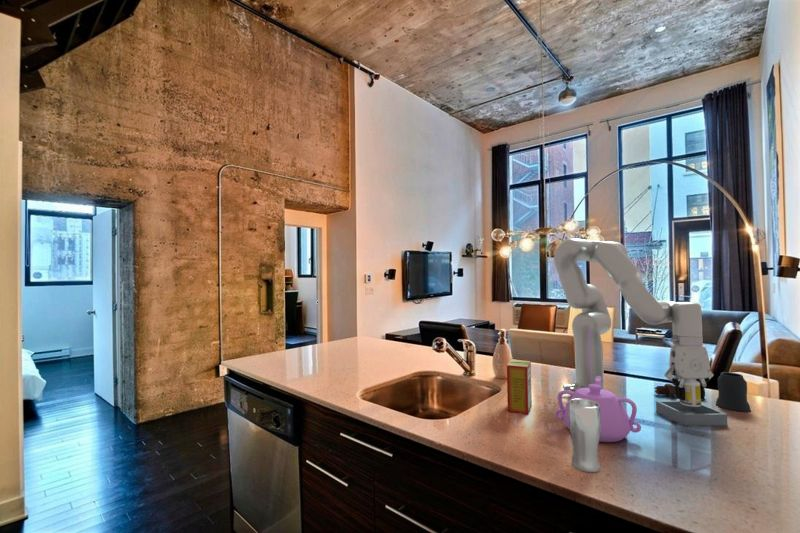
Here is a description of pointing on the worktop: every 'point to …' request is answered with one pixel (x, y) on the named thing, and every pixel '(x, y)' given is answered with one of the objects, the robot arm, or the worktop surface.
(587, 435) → the beer glass
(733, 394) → the mug
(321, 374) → the worktop surface
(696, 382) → the supplement bottle
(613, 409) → the purple lidded sugar bowl
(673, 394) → the bolt
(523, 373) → the baking soda box
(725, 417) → the tray
